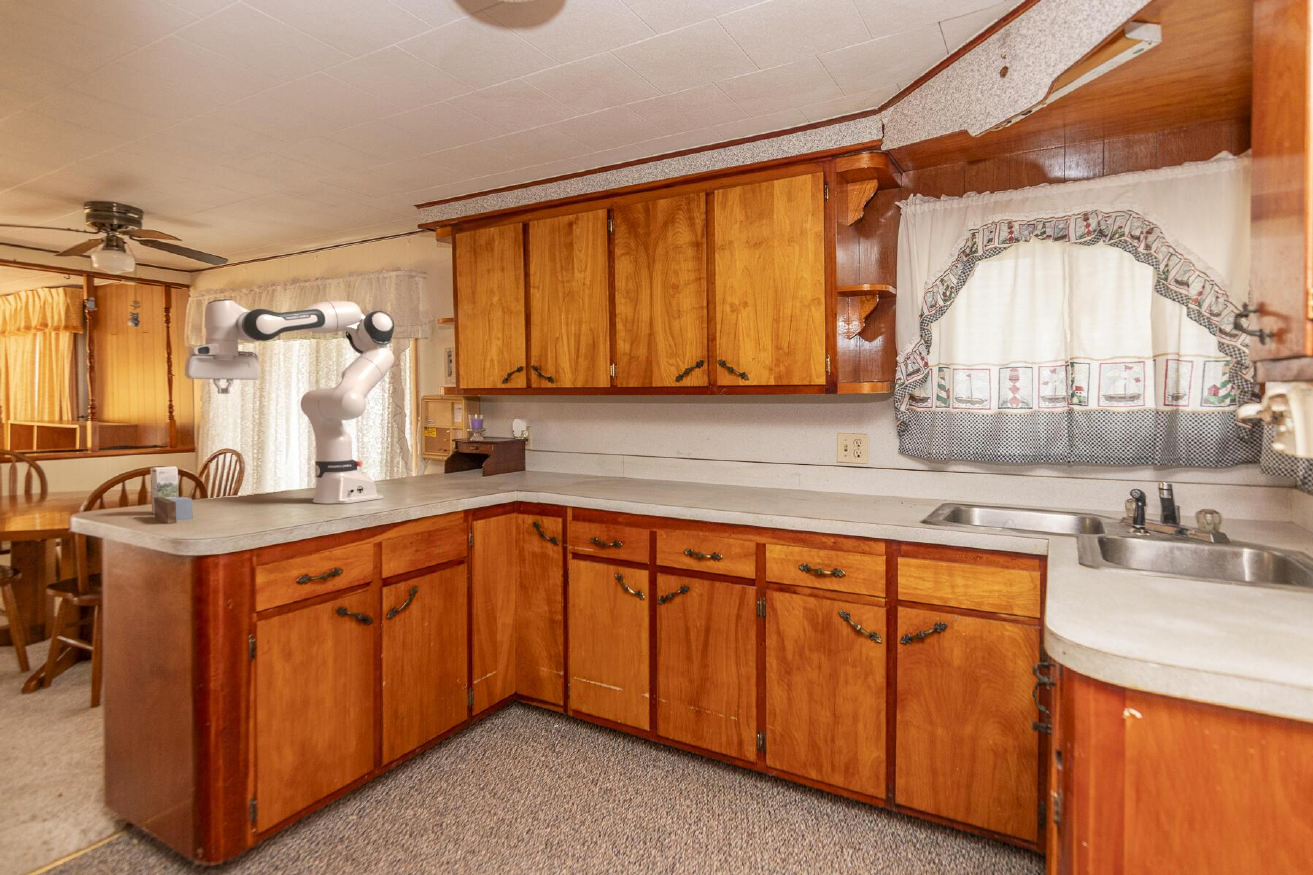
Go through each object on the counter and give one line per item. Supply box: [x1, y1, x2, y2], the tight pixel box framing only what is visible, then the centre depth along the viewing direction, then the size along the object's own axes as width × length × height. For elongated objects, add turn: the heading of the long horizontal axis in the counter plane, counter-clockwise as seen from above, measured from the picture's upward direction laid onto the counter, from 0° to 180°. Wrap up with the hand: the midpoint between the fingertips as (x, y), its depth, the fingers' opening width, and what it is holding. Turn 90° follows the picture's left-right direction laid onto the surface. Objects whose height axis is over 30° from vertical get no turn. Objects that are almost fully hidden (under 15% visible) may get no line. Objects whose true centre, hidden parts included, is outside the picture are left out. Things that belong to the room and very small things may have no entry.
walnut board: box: [154, 497, 177, 525], centre depth 201 cm, size 2×16×6 cm, turn 47°
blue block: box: [167, 496, 194, 521], centre depth 203 cm, size 5×7×6 cm
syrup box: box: [149, 465, 180, 515], centre depth 212 cm, size 6×6×14 cm
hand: (223, 393), depth 219 cm, fingers closed
